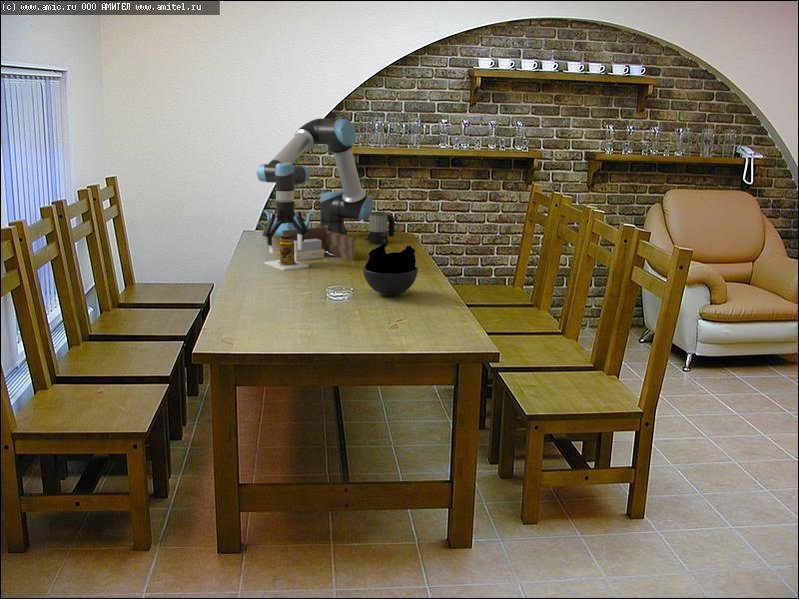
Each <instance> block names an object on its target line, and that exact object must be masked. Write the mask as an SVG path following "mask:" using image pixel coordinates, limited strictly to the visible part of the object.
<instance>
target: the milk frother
mask: <svg viewBox="0 0 799 599" xmlns="http://www.w3.org/2000/svg"><path fill="white" fill-rule="evenodd" d="M388 213H389V212H387V211H372V212H371V213H369V214H370V217H369V233H368V234H365V237H364V238H365V240H366V241H369V242H368V244H369V245H374V246H375V245H376V246H377V245H379V246H381V245H382V244H387V245H388V244H389V242H388V241H389V240H388V238H389V237H390V238H391V237H394V235H395V224H396V222H395V218H394V216H393V215H391V214H388Z"/></svg>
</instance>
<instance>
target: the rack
mask: <svg viewBox="0 0 799 599" xmlns="http://www.w3.org/2000/svg"><path fill="white" fill-rule="evenodd" d="M307 230H308V232H307V233H305V235H304V240H305V239H319V240H322V249H324V252H325V251H328V252H329V253H331V254H333V255H335V257H337V258H341V259H343V260H347V261H351V262H354V261H355V239H356V238H355V237H354V236H349V235H348V236H346V235H342V234H338V233H334V232H330V231H326V227H325V226H323V227H319V226H314V227H308V228H307ZM297 234H300V233H299V232H298V231H297V230H296V229H293V230H283V231H282V235H292V236H293V241H295V240H298V238H297ZM333 255H332V256H333Z"/></svg>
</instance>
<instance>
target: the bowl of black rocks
mask: <svg viewBox="0 0 799 599" xmlns="http://www.w3.org/2000/svg"><path fill="white" fill-rule="evenodd" d="M387 246H388V243H387V244H382V245H379V246H377V247H376V248H373V249H371V250H370V251H369V253H368V255H369V256H368V260H367V262H366V263H365V265H364V266H363V268H362V273H363V276H364V279H365V280H366V283H367V284H368V285H369V287H370V288H371V289H373V291H376V292H377V293H378V294H380V295H383V296H397V295H401V294H402V293H405V292H406V291H408V290H409V289H410V288H411V286H413V285H414V283H415V281H416V280H417V277H418V272H419V269H418V266H416V261H417V260H416V254H415V253H416V250H415V248H413V247H412V246H411V245H406V247H405V249H402V250H401V251H400V252H396V251H395V252H389V253H387V252H386V247H387Z"/></svg>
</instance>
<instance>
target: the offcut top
mask: <svg viewBox="0 0 799 599" xmlns="http://www.w3.org/2000/svg"><path fill="white" fill-rule="evenodd" d="M293 242H294V251H295V252H301V251H311V250H321V249H322V240H319V239H305V240H304V242H302V250H298V240H295V241H293Z"/></svg>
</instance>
